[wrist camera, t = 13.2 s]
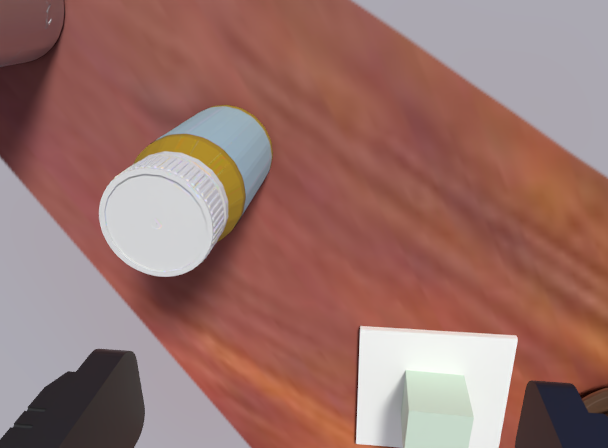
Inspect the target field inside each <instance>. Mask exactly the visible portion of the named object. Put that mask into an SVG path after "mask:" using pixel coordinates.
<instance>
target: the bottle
mask: <svg viewBox="0 0 608 448" xmlns="http://www.w3.org/2000/svg"><path fill="white" fill-rule="evenodd" d="M272 158H273V151H272V144H271V140H270V137H269V135H268V133H267V131H266V129H265V127H264V126H263V125H262V124H261V123H260V121H259V120H258V119H257V118H256V117H255V116H254V115H252V114H250V113H249V112H247V111H245V110H244V109H241V108H238V107H234V106H230V105H221V106H213V107H210V108H208V109H206V110H204V111H201V112H199V113H198V114H196V115H195V116H193V117H191V118H190V119H188V120H187V121H185V122H184V123H182V124H180V125H179V126H177V127H176V128H174V129H173V130H171V131H169V132H168V133H166V134H165V135H163V136H162V137H160V138H158V139H157V140H155V141H154V142H152V143H151V144H150V145H149V146H147V147H146V148H145V149H144V150H143V151H142V152H141V153H140V154H139V155H138V157H137V158H136V160H135V162H134V164H133V165H132V166H130V167H129V168H127V169H126V170H124V171H123V172H122V173H120V174H119V175H118V176H116V177H115V178H114V180H112V181H111V182H110V184H109V185H108V186H107V187H106V190H105V191H104V193H103V196H102V198H101V202H100V207H99V220H100V226H101V229H102V232H103V235H104V237H105V239H106V241H107V243H108V244H109V246H110V247H111V249H112V250H113V251H114V252H115V254H116V255H117V256H118V257H119V258H120V259H121V260H123V261H124V262H125V263H127V264H128V265H129V266H131V267H133V268H134V269H136V270H138V271H141V272H143V273H146V274H149V275H154V276H161V277H170V276H177V275H181V274H184V273H186V272H188V271H190V270H192V269H194V268H195V267H197V266H198V265H199V264H200V263H202V262H203V260H204V259H206V257H207V256H208V254H209V253H210V251H211V250H212V248H213V247H214V245H215V244H216V242H218V241H220V240H221V239H223V238H224V237H225V236H226V235H228V234H229V233H230V232H231V231H232V230H233V228H234V227H235V226H236V224H237V223H238V221H239V220H240V218H241V216H242V215H243V213H244V212H245V210H246V208H247V207H248V205H249V204H250V202H251V200H252V199H253V197H254V195H255V194H256V192H257V191H258V189H259V187H260V186H261V184H262V183H263V181H264V179H265V178H266V176H267V174H268V172H269V170H270V167H271V163H272Z"/></svg>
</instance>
